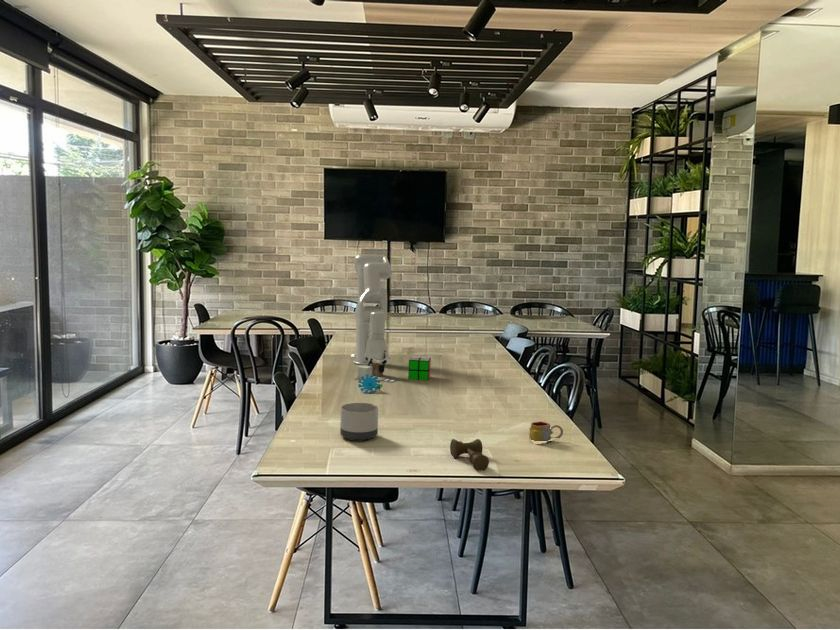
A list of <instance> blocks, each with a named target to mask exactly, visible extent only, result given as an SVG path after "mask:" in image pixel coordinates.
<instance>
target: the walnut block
mask: <svg viewBox="0 0 840 630" xmlns="http://www.w3.org/2000/svg"><path fill="white" fill-rule="evenodd" d="M380 365H381V363H380V362H379V363H378V362H376V363H372V364H369V366H371V367H372V374H373V375H374V377H375V376H377V377H380V376H383V375H384V372H383V373H380Z"/></svg>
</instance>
